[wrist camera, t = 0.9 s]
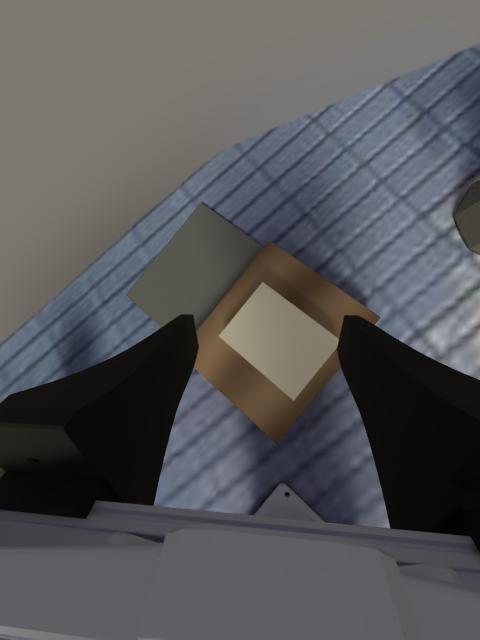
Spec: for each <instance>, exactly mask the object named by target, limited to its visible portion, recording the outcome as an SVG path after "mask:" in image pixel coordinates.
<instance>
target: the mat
mask: <svg viewBox="0 0 480 640" xmlns="http://www.w3.org/2000/svg"><path fill="white" fill-rule="evenodd" d="M264 248H265V247H263V246H262V245H260V244H259V243H257V242H256V241H255V240H253V239H252V238H250V237H249V236H248V235H246V234H245V233H243V232H242V231H240V230H239V229H238V228H236V227H235V226H233V225H232V224H231V223H229V222H228V221H226V220H225V219H223V218H222V217H221V216H219V215H218V214H216V213H215V212H213V211H212V210H211V209H209V208H208V207H206V206H205V205H204V204H202V203H200V205H199V206H198V207H197V208H196V210H195V211H194V212H193V213H192V214H191V216H190V217H189V218H188V219H187V221H186V222H185V223H184V224H183V225H182V227H181V228H180V229H179V230H178V232H177V233H176V234H175V235H174V237H173V238H172V239H171V240H170V241H169V243H168V244H167V245H166V246H165V248H164V249H163V250H162V251H161V253H160V254H159V255H158V256H157V257H156V259H155V260H154V261H153V262H152V264H151V265H150V266H149V267H148V268H147V270H146V271H145V272H144V273H143V275H142V276H141V277H140V278H139V280H138V281H137V282H136V283H135V284H134V286H133V287H132V288H131V289H130V291H129V292H128V293H127V294H126V295H127V296H128V297H129V298H130V299H131V300H132V301H133V302H134V303H135V304H136V305H137V306H139V307H140V308H141V309H142V310H143V311H144V312H145V313H146V314H147V315H148V316H149V317H151V318H152V319H153V320H154V321H155V322H156V323H157V324H158V325H159V326H160V327H161V328H162V327H163V326H164V325H166V324H167V323H169V322H170V321H172V320H173V319H174V318H176V317H178V316H179V315H181V314H193V316H194V322H195V327H196V331H197V330H198V329H199V328H200V326H201V325H202V324H203V323H204V321H205V320H206V319H207V318H208V317H209V315H210V314H211V313H212V312H213V310H214V309H215V308H216V307H217V305H218V304H219V303H220V302H221V301H222V299H223V298H224V297H225V296H226V294H227V293H228V292H229V291H230V290H231V288H232V287H233V286H234V285H235V283H236V282H237V281H238V280H239V279H240V277H241V276H242V275H243V274H244V272H245V271H246V270H247V269H248V267H249V266H250V265H251V264H252V263H253V261H254V260H255V259H256V258H257V256H258V255H259V254H260V253H261V252H262V250H263V249H264Z"/></svg>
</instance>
